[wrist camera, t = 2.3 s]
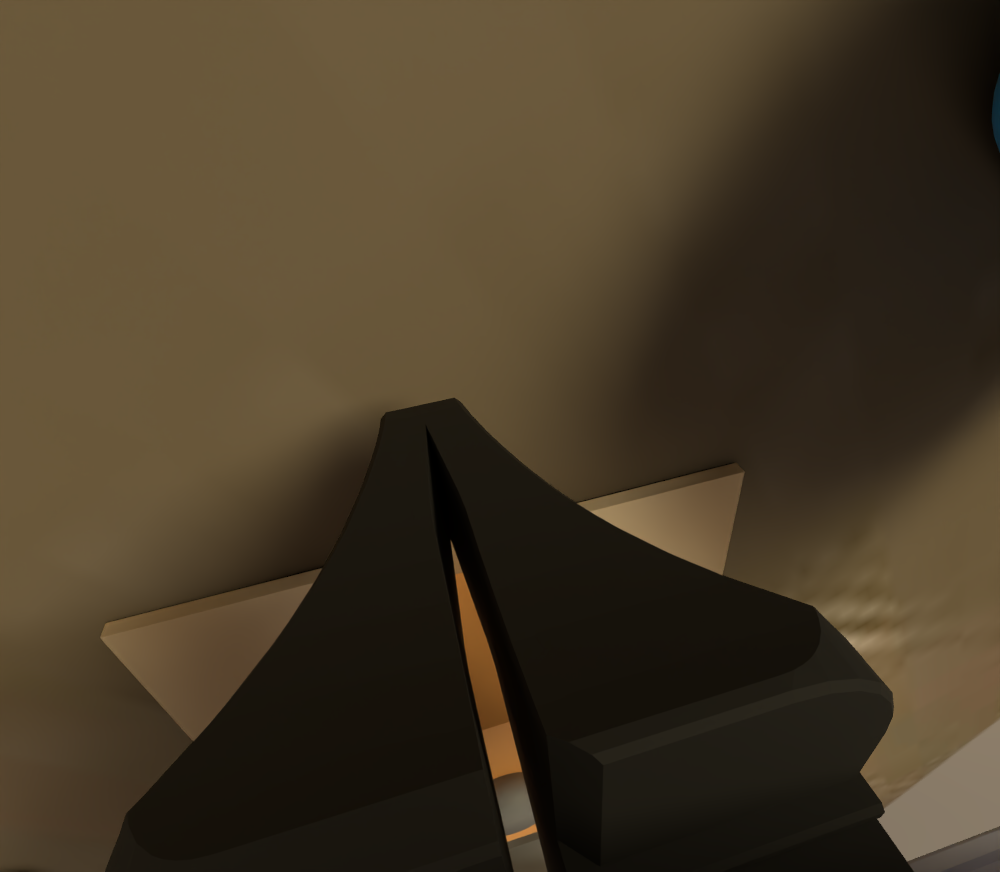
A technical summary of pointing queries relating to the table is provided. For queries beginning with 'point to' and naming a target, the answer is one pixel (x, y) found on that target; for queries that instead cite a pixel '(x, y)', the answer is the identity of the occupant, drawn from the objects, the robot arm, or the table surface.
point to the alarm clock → (996, 113)
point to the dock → (269, 606)
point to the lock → (494, 722)
